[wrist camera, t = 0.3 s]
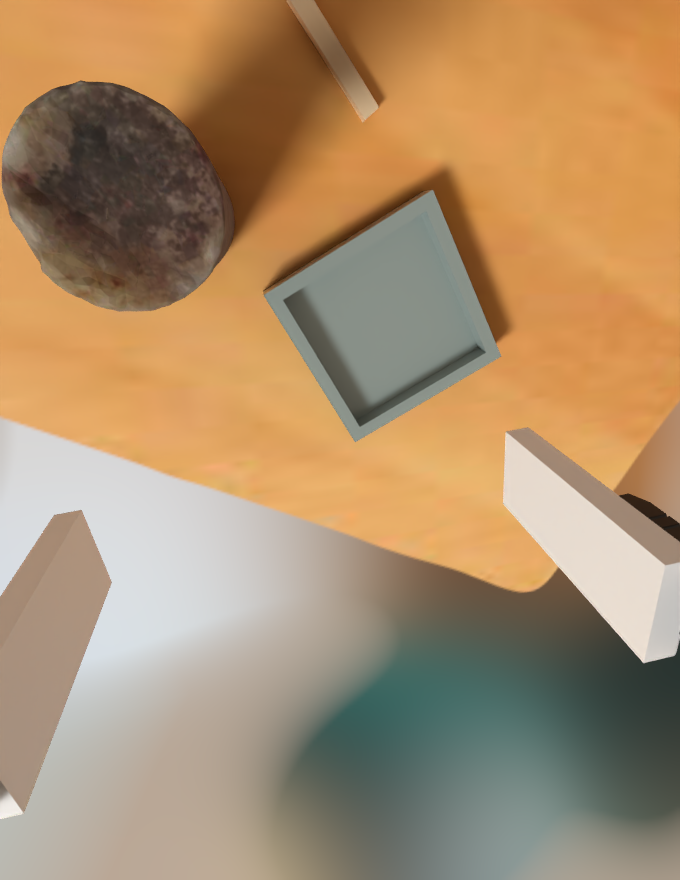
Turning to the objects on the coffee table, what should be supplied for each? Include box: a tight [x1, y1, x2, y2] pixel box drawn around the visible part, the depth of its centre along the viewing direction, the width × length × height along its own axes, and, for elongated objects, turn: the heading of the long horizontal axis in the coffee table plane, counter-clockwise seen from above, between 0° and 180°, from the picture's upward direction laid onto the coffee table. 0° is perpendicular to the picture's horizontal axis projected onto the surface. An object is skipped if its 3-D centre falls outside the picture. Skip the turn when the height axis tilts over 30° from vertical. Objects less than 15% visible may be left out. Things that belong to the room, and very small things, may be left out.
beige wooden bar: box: [286, 0, 379, 122], centre depth 32 cm, size 8×1×1 cm, turn 38°
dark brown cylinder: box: [2, 81, 235, 311], centre depth 25 cm, size 8×7×20 cm
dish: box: [263, 190, 501, 442], centre depth 38 cm, size 14×14×2 cm
